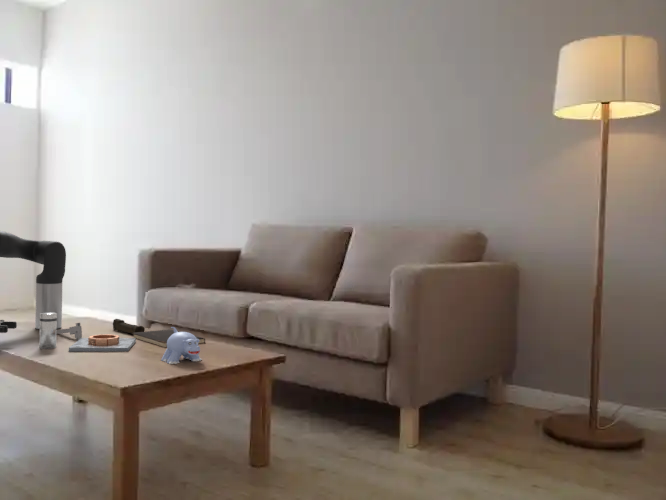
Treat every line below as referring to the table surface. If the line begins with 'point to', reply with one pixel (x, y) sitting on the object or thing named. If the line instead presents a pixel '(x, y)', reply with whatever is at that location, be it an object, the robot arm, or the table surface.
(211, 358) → the table surface
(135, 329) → the hand tool
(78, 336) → the caliper
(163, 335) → the hardcover book
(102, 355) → the table surface
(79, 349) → the grey square base plate
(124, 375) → the table surface
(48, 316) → the steel piston
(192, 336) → the hippopotamus toy
